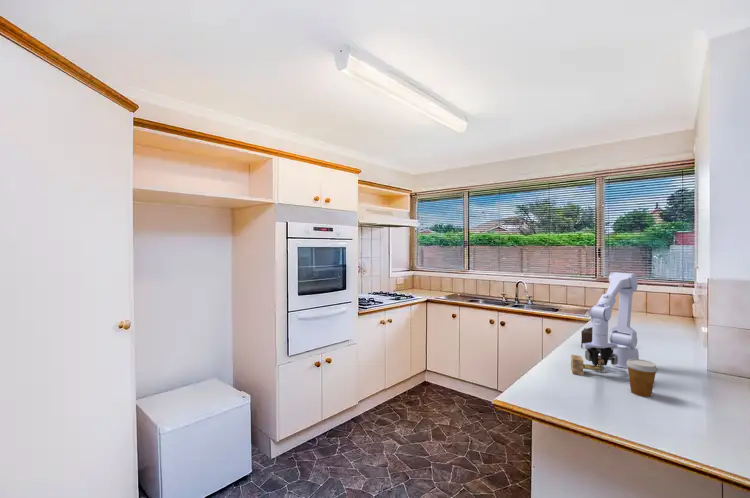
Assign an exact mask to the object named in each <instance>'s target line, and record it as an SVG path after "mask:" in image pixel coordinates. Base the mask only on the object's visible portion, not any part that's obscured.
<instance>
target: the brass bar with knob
mask: <svg viewBox="0 0 750 498" xmlns="http://www.w3.org/2000/svg"><path fill="white" fill-rule="evenodd" d="M604 362H605V359H604V358H601V357H598V364H597V366H595V365H593V364H586V363H583V370H591V371H595V370H597V371H596V372H598V371H601V365H604ZM571 366H572V363H571V362H570V367H571ZM604 366H605V365H604Z"/></svg>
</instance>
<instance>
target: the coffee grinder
mask: <svg viewBox="0 0 750 498" xmlns="http://www.w3.org/2000/svg"><path fill="white" fill-rule="evenodd" d="M592 328H593V326H591V327H588V328H587V327H586V328H583V329H582V331H581V340H580V341H581V342H580V343H581V344H580V345H581V346H580V348H581V349H583V348H582V343H590V342H592ZM596 349H597V350H600V348H596Z"/></svg>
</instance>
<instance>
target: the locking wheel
mask: <svg viewBox="0 0 750 498" xmlns="http://www.w3.org/2000/svg"><path fill="white" fill-rule="evenodd" d="M598 351H600V352H599V355H598V357H601V350H598ZM584 358H585V359H586V360H587V361H589V362H592V359H591V356H590V354H589V352H588V350H587V349H585V351H584ZM608 361H610V363H611V364H610V365H613V366H614V365H616V364H617V363H618V356H617V355H616V354H614V353H612V354H611V356H610V357H609V359H608Z"/></svg>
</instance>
